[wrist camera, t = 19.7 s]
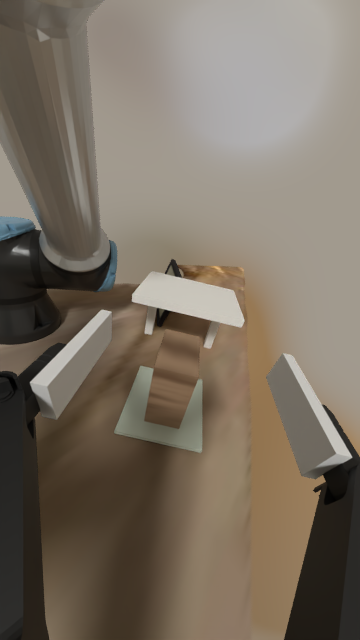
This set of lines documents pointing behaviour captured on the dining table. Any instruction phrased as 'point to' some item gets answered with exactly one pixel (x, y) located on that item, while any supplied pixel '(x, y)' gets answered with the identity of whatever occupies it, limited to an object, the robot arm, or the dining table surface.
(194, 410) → the mat
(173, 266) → the picture frame
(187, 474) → the dining table surface
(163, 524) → the dining table surface
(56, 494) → the dining table surface
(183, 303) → the small white table
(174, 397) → the walnut block
